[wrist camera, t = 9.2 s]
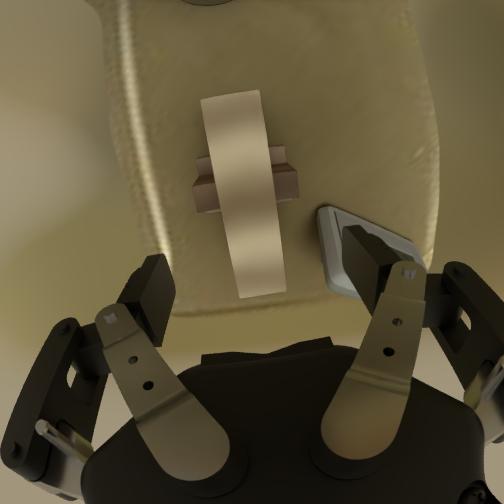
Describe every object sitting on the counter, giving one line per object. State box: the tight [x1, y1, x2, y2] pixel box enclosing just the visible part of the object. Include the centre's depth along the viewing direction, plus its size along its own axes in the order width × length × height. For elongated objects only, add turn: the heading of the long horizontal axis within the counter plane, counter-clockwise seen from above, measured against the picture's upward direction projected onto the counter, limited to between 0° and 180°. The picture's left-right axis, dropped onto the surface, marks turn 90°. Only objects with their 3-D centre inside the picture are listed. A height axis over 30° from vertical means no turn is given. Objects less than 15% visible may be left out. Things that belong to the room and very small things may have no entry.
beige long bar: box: [200, 90, 286, 298], centre depth 21 cm, size 16×4×4 cm, turn 9°
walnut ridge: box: [192, 145, 299, 214], centre depth 26 cm, size 6×9×6 cm, turn 98°
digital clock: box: [316, 206, 429, 300], centre depth 28 cm, size 16×9×11 cm, turn 59°
